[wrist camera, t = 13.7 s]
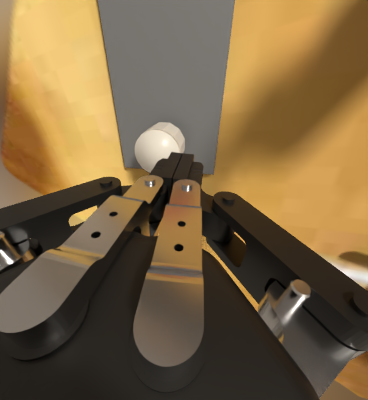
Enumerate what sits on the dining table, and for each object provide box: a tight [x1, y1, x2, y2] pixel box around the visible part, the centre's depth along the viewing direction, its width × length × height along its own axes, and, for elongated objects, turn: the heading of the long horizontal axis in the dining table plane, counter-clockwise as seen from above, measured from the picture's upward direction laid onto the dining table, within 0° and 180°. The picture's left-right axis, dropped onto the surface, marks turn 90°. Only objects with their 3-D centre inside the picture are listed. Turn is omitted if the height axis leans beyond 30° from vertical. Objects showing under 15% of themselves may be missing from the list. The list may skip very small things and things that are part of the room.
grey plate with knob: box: [98, 0, 235, 175], centre depth 25 cm, size 24×16×8 cm, turn 179°
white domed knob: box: [135, 122, 185, 173], centre depth 26 cm, size 6×6×5 cm
